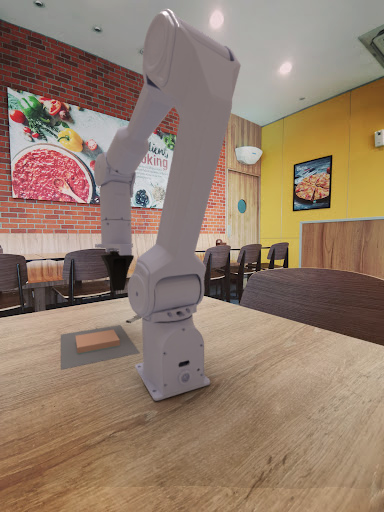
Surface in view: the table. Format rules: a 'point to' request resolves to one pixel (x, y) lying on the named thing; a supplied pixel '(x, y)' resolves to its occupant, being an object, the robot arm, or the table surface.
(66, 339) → the mat
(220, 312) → the table surface
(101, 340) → the tile
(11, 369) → the table surface
